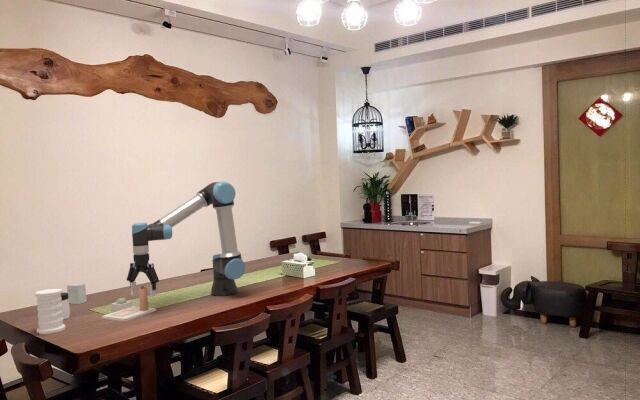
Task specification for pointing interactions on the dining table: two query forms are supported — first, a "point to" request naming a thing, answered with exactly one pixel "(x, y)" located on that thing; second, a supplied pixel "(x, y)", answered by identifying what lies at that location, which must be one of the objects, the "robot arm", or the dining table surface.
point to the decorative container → (49, 311)
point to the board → (128, 314)
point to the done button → (121, 300)
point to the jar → (65, 305)
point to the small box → (76, 293)
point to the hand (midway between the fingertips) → (143, 295)
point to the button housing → (120, 306)
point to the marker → (143, 298)
